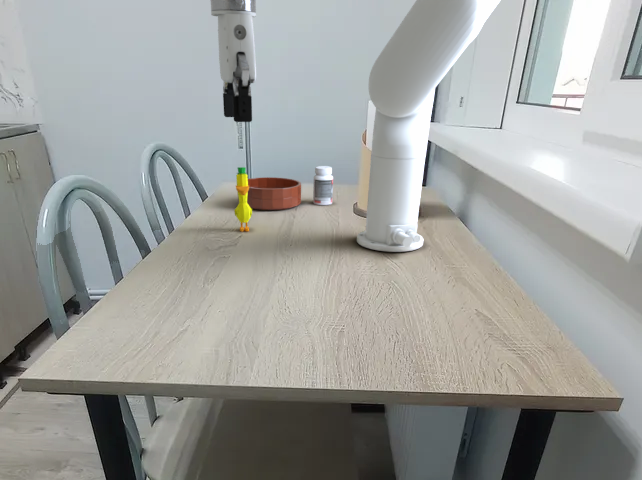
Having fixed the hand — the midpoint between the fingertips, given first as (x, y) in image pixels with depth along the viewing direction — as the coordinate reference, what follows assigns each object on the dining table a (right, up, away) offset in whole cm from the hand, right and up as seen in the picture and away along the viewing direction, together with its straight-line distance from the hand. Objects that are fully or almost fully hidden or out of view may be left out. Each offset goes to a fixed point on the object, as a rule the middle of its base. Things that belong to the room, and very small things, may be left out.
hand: (237, 119), depth 97 cm
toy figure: (0, -18, +10) cm, 21 cm away
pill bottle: (+17, -4, +33) cm, 37 cm away
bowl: (+4, -5, +31) cm, 32 cm away
